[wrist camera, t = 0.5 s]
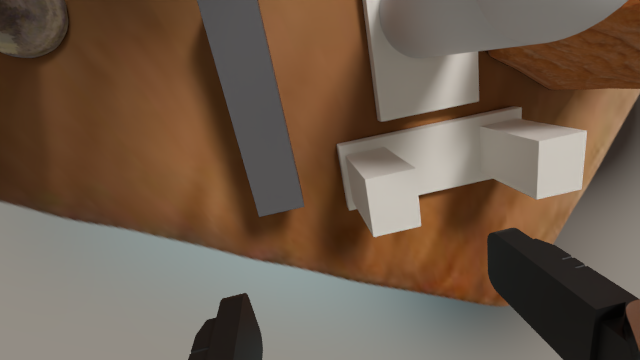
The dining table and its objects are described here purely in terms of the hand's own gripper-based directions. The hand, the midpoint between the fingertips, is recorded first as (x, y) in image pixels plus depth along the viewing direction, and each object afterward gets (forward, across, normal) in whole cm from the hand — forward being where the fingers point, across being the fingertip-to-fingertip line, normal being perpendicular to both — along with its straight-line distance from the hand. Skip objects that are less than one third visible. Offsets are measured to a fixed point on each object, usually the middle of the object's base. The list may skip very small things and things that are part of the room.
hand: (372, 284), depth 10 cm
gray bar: (+23, +4, -4) cm, 24 cm away
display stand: (+23, -12, -3) cm, 26 cm away
